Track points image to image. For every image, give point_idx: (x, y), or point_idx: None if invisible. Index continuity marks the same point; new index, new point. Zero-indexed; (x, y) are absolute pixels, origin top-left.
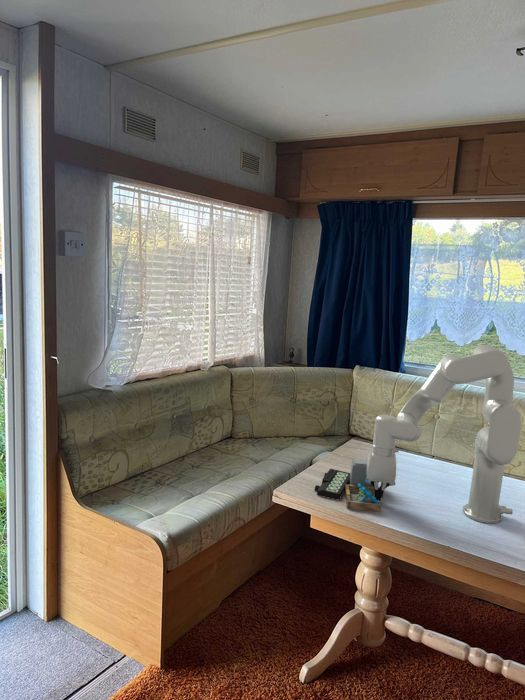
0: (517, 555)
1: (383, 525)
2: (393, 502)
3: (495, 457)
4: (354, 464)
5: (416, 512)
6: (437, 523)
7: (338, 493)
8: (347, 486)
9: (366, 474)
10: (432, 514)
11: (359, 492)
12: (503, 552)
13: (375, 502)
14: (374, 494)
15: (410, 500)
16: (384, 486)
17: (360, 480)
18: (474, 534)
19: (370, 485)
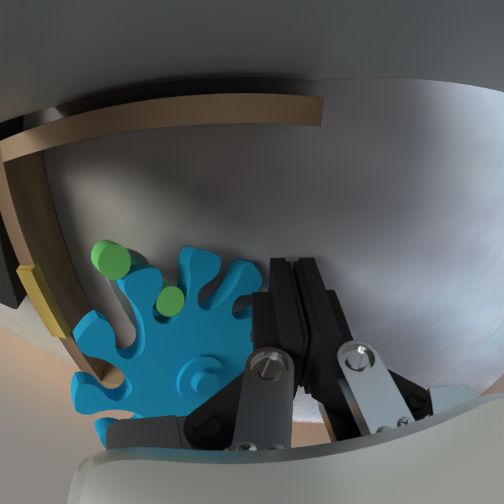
0: (490, 384)
1: None
2: (404, 239)
3: None
4: None
5: (453, 314)
6: (461, 355)
7: (12, 303)
8: (3, 191)
9: (86, 461)
10: (492, 307)
11: (111, 289)
12: (481, 388)
13: None
14: (252, 327)
15: (500, 191)
16: (350, 426)
17: (55, 94)
18: (493, 361)
19: (232, 69)
